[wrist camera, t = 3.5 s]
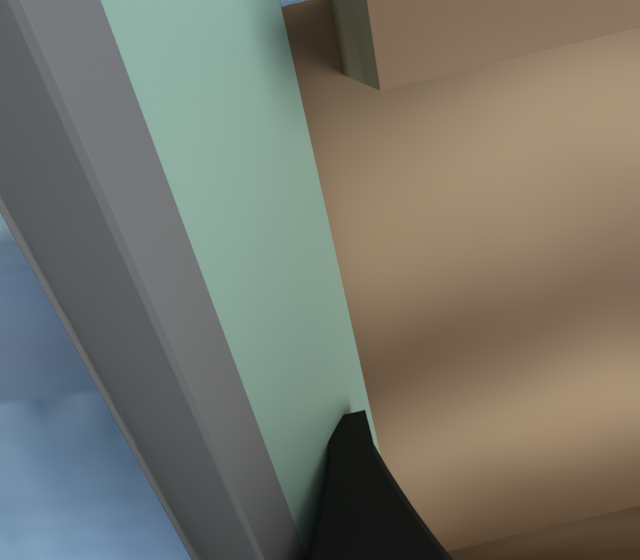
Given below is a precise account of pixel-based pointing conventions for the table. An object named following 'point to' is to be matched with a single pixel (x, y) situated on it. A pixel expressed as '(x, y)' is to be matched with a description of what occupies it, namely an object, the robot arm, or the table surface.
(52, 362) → the table surface
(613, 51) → the cart bed
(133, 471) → the table surface
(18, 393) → the table surface
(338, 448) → the robot arm
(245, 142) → the green board
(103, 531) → the table surface
